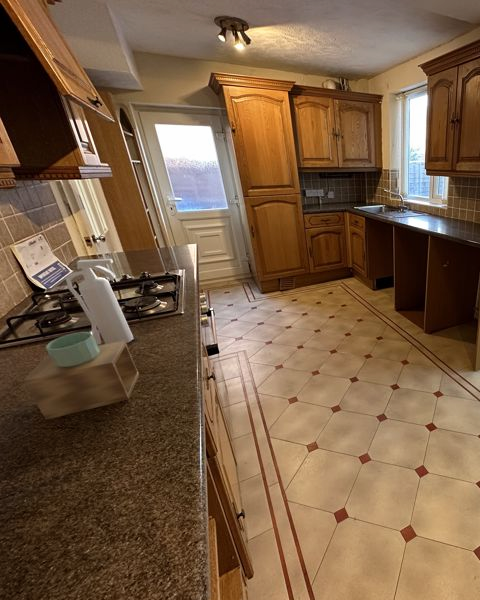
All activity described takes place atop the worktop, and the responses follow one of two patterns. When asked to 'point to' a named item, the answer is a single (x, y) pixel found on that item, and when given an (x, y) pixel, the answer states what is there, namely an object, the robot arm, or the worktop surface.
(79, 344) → the bowl
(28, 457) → the worktop surface
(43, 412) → the wooden box
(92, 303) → the fire extinguisher
